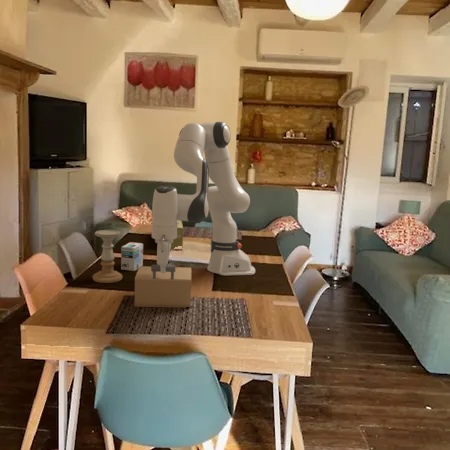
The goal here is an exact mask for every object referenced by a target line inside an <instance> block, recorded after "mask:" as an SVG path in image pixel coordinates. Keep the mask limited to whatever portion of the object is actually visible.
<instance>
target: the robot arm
mask: <svg viewBox="0 0 450 450" xmlns="http://www.w3.org/2000/svg"><path fill="white" fill-rule="evenodd" d="M231 135H232V134H231V129H230V127H229V125H227V123H225V122H224V121H215V122H213V121H212V122H202V123H196V122H190V123H186V124H185V125H184V126H183V127H182V128H181V129H180V132H179V134H178V138H177V141H176V144H175V148H174V150H173V159H174V162H175V163H176V165H177V166H178V167H179V168H180V169H182V170H183V171H185V172H187V173H189V174H191V175H193V176H195V177H196V192H195V193H194V194H185V193H184V194H181V193H178V189H177V188H176V187H175V186H173V185H160V186H158V187H156V188H155V189H154V190H153V191H154V192H153V197H152V204H151V206H152V207H151V208H152V209H151V212H152V217H153V218H152V222H151V238H152V239H154V242H155V243H156V244H157V245H156V246H157V247H156V265H160V272H161V273H165V272H166V265H169V263H168V262H169V258H170V254H171V253H170V252H171V250H170V249H171V243H173V239H176V238H177V220H180V221H182V222H189V223H192V224H193V223H194V224H200V223H202V222H203V221H205V220H206V219H208V217H209V214H210V218H211V224H212V227H211V228H212V233H211V234H212V235H211V236H212V237H211V241H210V257H209V262H208V265H207V268H206V269H207V271H209V272H210V273H214V274H217V275H220V276H252V275H255V273H256V268H255V267H254V266H253V265H252V263H251V259H250V257H249V256H248V255H247V253H245V252H244V251H243V250H241V248H242V246H243V245H242V244H241V242H239V241H238V240H237V229H238V227H237V223H236V221H235V220H234V219H233V217H232V214H241V213H246V211H248V209H249V207H250V204H251V197H250V195H249V194H248V193H247V192H246V191H245V190H244V188H243V187H242V186H241V185H240V182H239V181H238V179H237V177H236V175H235V172H234V168H233V164H232V159H231V154H230V150H229V147H228V145H229V143H230V141H231ZM210 180H211V182H213V184H214V185H212V186H210V185H209V181H210ZM231 213H232V214H231Z"/></svg>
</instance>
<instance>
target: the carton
mask: <svg viewBox="0 0 450 450" xmlns="http://www.w3.org/2000/svg"><path fill="white" fill-rule="evenodd" d="M191 297H192V280H191V281H163V280H135V279H134V307H141V308H142V307H146V308H147V307H149V308H152V307H153V308H186V307H190V308H191V302H192V301H191V299H192V298H191Z"/></svg>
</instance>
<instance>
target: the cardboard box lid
mask: <svg viewBox="0 0 450 450" xmlns="http://www.w3.org/2000/svg"><path fill="white" fill-rule="evenodd" d="M136 271H137V272H136V274H135V277H134V281H135V280H163V281H191V282H192V267H180V266H179V267H178V266H177V267H176V264H175V265H174V264H167V265H166V272H165V273H161V272H160V265H157V264H151V266H144V265H143V266H139V268H138V269H137V270H136Z"/></svg>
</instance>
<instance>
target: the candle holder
mask: <svg viewBox="0 0 450 450" xmlns="http://www.w3.org/2000/svg"><path fill="white" fill-rule="evenodd" d="M121 234H122V233H121V231H119V230H116V229H115V230H113V229H103V230H102V229H100V230H96V231H95V232H94V236H96V237H99V238H101V240H102V242H103V243H102V245H101V248H102V252H101V256H100V258H101V262H100V265H101V270H99V271H98V272H96V273H94V274H93V275H92V280H93V281H94V282H96V283H101V284H111V283H118V282H120V281H122V279H123V274H122V273H120V272H118V271H117V270H114V266H115V264H116V263H115V261H114V260H115V254H114V250H113V248H114V247H115V245H114V244H113V240H114V239H115V238H116V237H119V236H121Z"/></svg>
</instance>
